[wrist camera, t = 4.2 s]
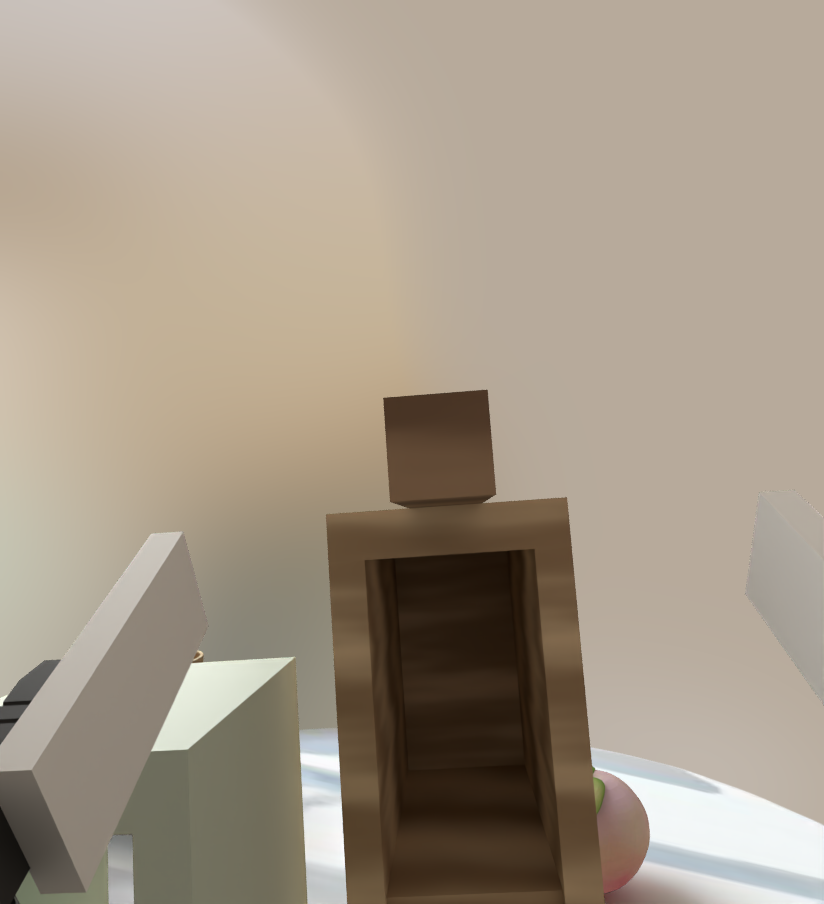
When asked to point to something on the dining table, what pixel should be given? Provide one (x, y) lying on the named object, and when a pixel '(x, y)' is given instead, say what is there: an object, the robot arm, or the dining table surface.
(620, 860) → the decorative fruit
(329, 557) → the brown wooden tall box
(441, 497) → the wooden square beam
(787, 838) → the dining table surface
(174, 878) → the sage green rectangular block
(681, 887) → the dining table surface
